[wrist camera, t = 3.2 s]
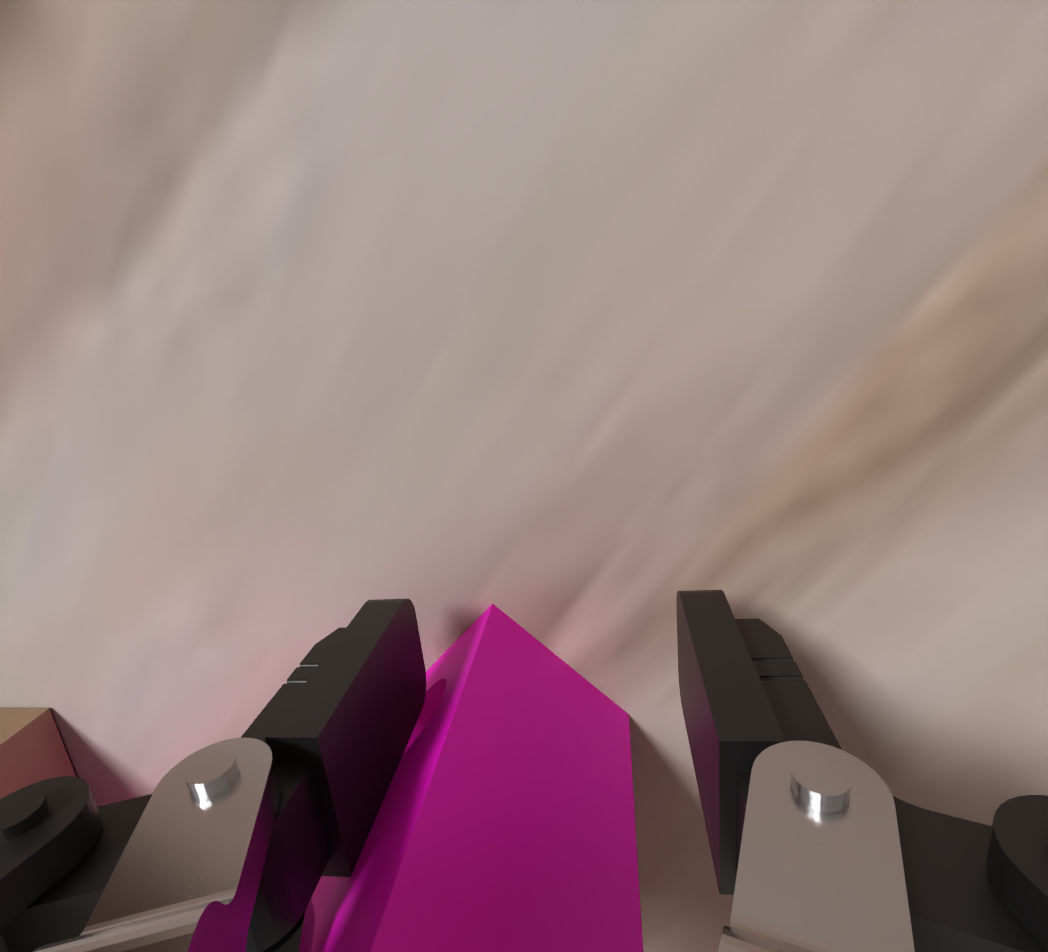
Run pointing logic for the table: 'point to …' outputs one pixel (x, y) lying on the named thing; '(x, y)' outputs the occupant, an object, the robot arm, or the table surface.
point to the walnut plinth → (30, 749)
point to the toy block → (498, 815)
